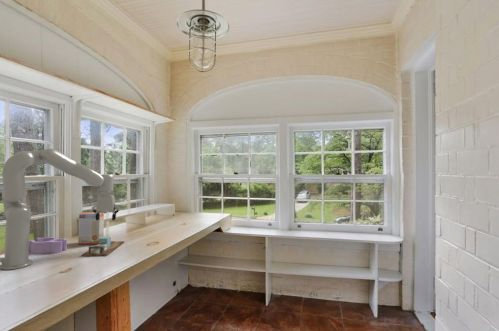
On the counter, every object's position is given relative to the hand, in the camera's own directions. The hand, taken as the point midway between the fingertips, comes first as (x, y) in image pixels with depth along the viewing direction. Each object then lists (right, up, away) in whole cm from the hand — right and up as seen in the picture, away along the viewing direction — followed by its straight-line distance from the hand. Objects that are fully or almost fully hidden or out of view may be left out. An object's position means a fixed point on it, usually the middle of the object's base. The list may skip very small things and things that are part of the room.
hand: (105, 220), depth 168 cm
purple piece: (-32, -18, -6) cm, 37 cm away
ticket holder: (-1, -18, 0) cm, 19 cm away
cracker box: (-16, -19, +11) cm, 27 cm away
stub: (-1, -17, 0) cm, 17 cm away
